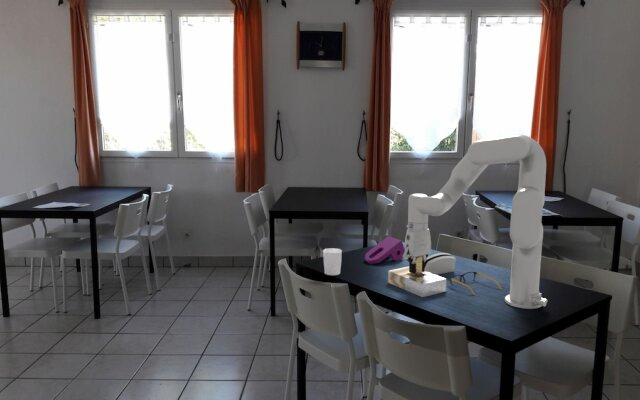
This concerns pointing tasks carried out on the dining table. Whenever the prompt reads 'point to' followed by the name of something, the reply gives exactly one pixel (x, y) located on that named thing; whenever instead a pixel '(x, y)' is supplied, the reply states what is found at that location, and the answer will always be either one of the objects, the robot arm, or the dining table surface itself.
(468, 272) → the eyeglasses
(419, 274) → the brass pin
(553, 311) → the dining table surface
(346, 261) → the dining table surface
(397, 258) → the mounting bracket
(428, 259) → the white black arched block
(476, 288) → the dining table surface
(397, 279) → the notched wooden block
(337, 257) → the white cup
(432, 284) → the gray notched block
